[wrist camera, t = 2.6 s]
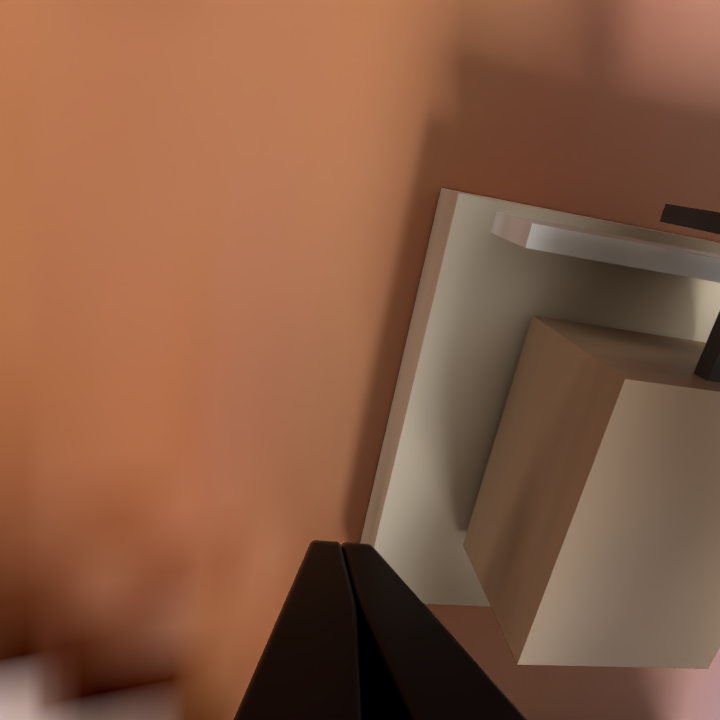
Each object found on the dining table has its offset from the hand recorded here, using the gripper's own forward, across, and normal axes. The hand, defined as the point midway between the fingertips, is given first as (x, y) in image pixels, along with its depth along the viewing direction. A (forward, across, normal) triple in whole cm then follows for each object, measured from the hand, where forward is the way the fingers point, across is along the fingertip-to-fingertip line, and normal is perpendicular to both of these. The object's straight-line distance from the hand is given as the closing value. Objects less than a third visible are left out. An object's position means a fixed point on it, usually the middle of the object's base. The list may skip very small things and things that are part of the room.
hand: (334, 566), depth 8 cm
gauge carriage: (+6, -9, -1) cm, 11 cm away
